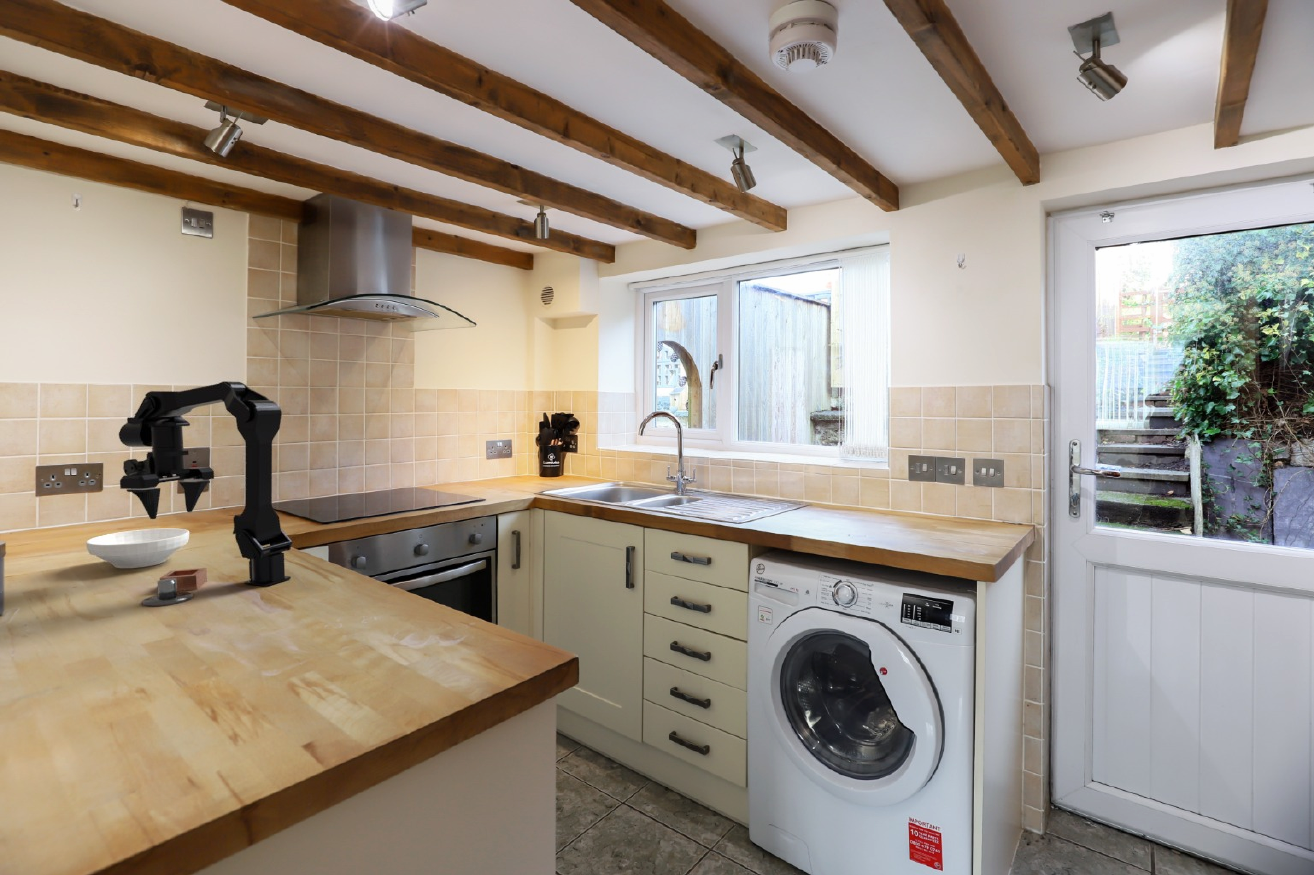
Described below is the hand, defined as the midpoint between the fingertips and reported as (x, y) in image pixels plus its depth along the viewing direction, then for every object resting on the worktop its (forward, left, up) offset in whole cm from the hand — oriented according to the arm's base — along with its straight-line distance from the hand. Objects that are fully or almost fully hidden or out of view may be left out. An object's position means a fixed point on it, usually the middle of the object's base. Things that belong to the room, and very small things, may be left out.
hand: (171, 515), depth 149 cm
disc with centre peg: (-17, +15, -14) cm, 26 cm away
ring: (-11, +7, -14) cm, 19 cm away
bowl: (+17, -4, -14) cm, 22 cm away
